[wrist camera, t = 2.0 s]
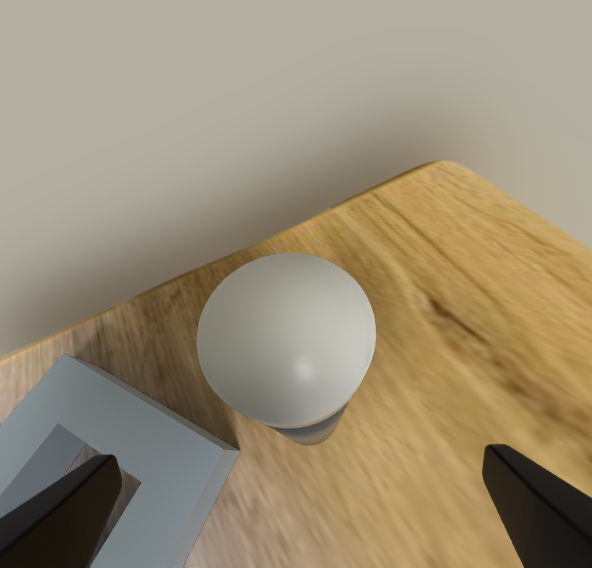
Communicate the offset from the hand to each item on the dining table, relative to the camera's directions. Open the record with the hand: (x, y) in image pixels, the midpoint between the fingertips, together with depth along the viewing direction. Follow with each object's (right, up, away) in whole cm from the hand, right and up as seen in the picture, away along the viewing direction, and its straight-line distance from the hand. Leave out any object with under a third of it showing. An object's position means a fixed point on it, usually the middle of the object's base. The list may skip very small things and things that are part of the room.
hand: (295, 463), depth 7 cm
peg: (+1, -3, +10) cm, 10 cm away
